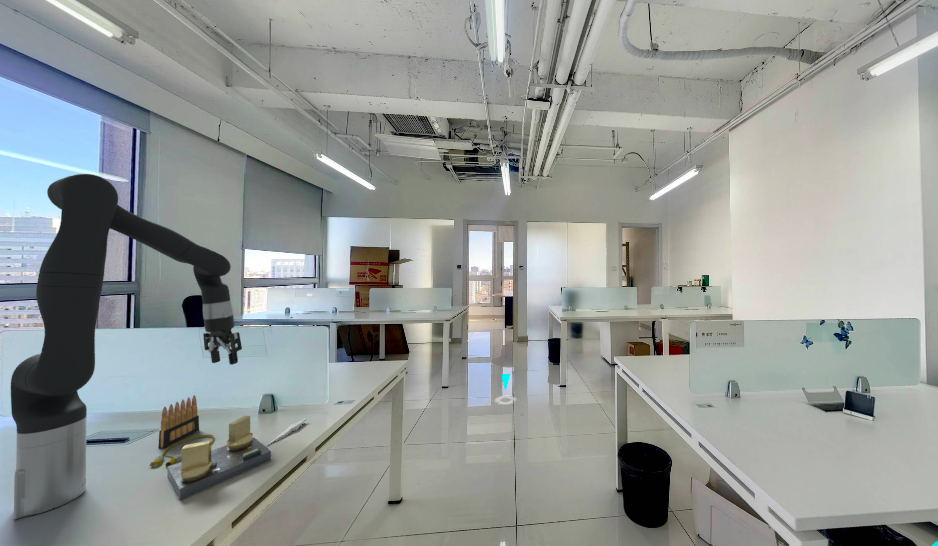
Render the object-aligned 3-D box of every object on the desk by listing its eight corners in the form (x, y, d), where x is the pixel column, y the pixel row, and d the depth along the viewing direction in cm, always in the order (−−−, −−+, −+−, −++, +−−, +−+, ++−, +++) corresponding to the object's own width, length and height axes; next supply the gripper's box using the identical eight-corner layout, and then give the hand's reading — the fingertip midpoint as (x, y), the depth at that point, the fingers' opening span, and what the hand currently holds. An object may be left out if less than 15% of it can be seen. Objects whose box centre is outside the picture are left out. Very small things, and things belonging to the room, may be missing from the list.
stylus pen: (302, 422, 103) (302, 416, 103) (309, 423, 102) (309, 417, 102) (263, 448, 88) (262, 442, 88) (270, 449, 88) (270, 443, 88)
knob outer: (240, 451, 81) (240, 425, 81) (221, 450, 81) (221, 424, 82) (259, 438, 87) (259, 414, 87) (242, 437, 88) (242, 413, 88)
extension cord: (132, 466, 80) (132, 458, 80) (198, 436, 96) (198, 430, 96) (164, 472, 77) (164, 464, 77) (227, 440, 92) (227, 434, 93)
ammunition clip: (163, 448, 88) (164, 407, 88) (158, 448, 88) (158, 407, 88) (199, 430, 98) (199, 394, 99) (194, 430, 99) (194, 393, 99)
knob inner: (175, 484, 68) (175, 453, 68) (187, 470, 73) (187, 441, 73) (211, 476, 70) (211, 446, 70) (220, 463, 75) (220, 435, 76)
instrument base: (179, 500, 66) (179, 484, 66) (167, 476, 75) (167, 462, 75) (271, 460, 81) (270, 447, 81) (252, 444, 89) (252, 432, 89)
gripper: (191, 318, 97) (197, 366, 99) (221, 318, 93) (227, 368, 94) (216, 313, 104) (222, 357, 106) (245, 313, 100) (251, 360, 101)
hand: (224, 363), depth 100 cm, fingers open, 8 cm apart
